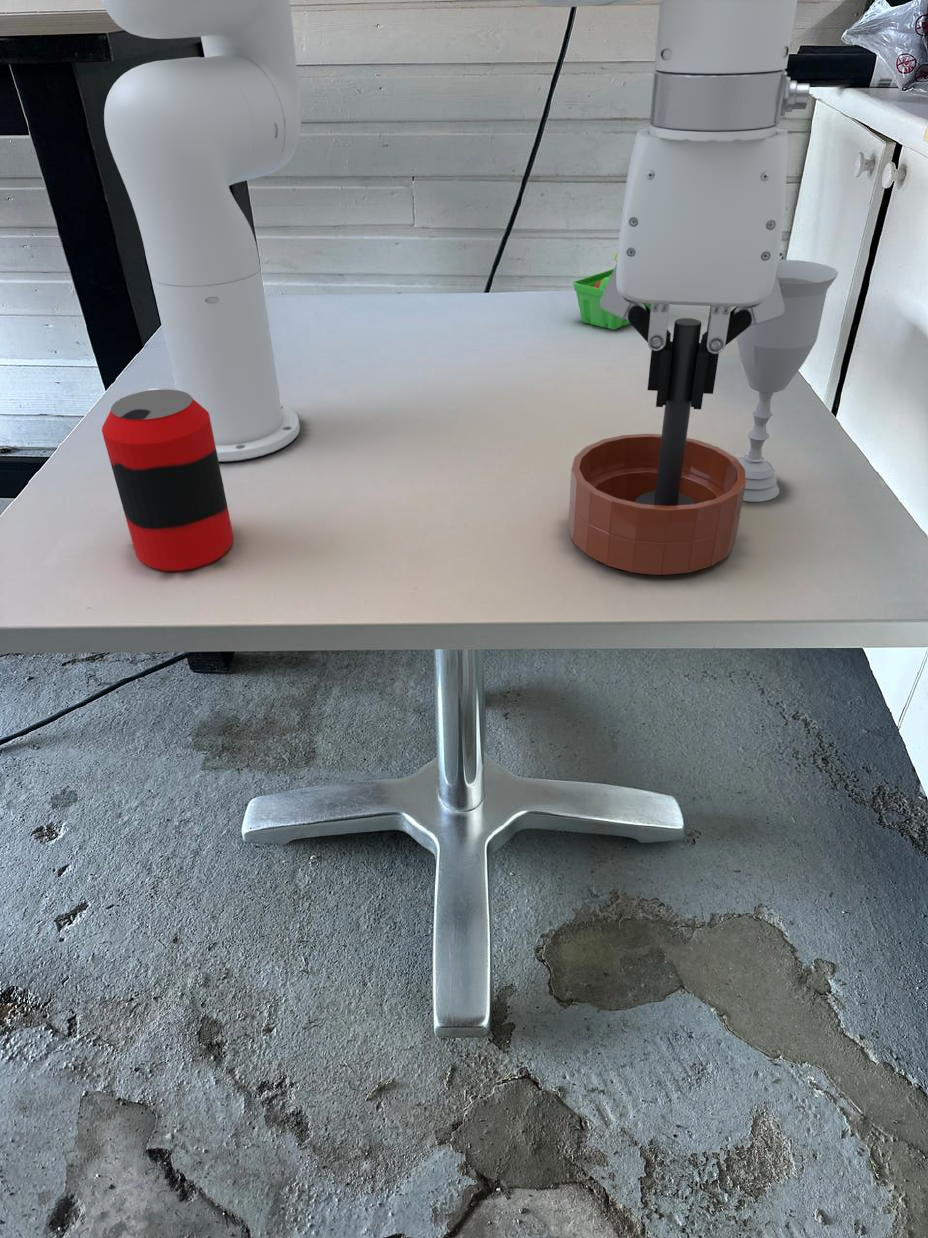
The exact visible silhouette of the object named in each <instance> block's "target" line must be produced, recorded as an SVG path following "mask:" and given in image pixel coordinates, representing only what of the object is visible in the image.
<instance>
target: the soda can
mask: <svg viewBox="0 0 928 1238" xmlns="http://www.w3.org/2000/svg"><path fill="white" fill-rule="evenodd" d="M160 389H161V390H149V391H148V390H145V391H139V392H135V393H132V394H129V395H127V396H124V397H121V398H120V399H118V400H116V401H115V402H114V403H112V405H111V407H110V411H109V413H108V415H107V417H106V418H105V421H104V422H103V424H102V427H101V435H102V437H103V441H104V445H105V448H106V451H107V455H108V459H109V462H110V466H111V469H112V473H113V477H114V480H115V485H116V488H117V492H118V495H119V498H120V502H121V506H122V509H123V513H124V518H125V521H126V525H127V528H128V531H129V535H130V538H131V543H132V545H133V550H134V553H135V555H136V558H137V559H138V560H139V561H140V562H141V563H143V564H144V565H146V566H148V567H149V568H152V569H155V570H159V571H163V572H183V571H189V570H195V569H199V568H201V567H204V566H207V565H209V564H212V563H214V562H215V561H217V560H218V559H220V558H222V557H223V556H224V555H225V554H226V553H227V552H228V550H229V549H230V547H231V546H232V544H233V541H234V533H233V528H232V527H233V526H232V522H231V517H230V512H229V507H228V502H227V497H226V492H225V488H224V481H223V477H222V472H221V467H220V461H218V456H217V451H216V446H215V441H214V436H213V431H212V426H211V421H210V416H209V413H208V412H207V410H206V409H204V408H203V407H202V406H201V405H200V404H199V403H197V402H196V401H195V400H194V399H193V398H192V397H191V395H189V394H188V393H186V392H183V391H179V390H176V389H168V388H160Z"/></svg>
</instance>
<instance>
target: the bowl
mask: <svg viewBox="0 0 928 1238" xmlns="http://www.w3.org/2000/svg"><path fill="white" fill-rule="evenodd" d="M661 437H662V433H636V434H622V435H621V434H620V435H618V436H617V435H616V436H612V437H607V438H604V439H601V440H598V441H596V442H594V443H592V444H589V445H586V446H585V447H583V448H582V449H581V450H580V452H579V453H577V454H576V455H575V456H574V457H573V461H572V465H571V470H570V471H571V472H570V487H569V488H570V490H569V506H568V507H569V508H568V509H569V510H568V526H567V527H568V528H567V530H568V533H569V535H570V538H571V541H572V543H573V544H574V545H575V546H576V547H577V548H579V549H580V550H581V551H582V552H583V553H584V554H585V555H587V556H588V557H590V558H592V559H594V560H595V561H598V562H599V563H601V564H604V565H606V566H608V567H612V568H615V569H618V570H622V571H625V572H630V573H634V574H641V575H649V576H650V575H654V576H669V575H678V574H687V573H693V572H695V571H700V570H703V569H707V568H710V567H713V566H714V565H716V564H717V563H719V562H721V561H722V560H724V559H726V558H727V557H728V556H729V554H730V552H732V549H733V548H734V546H735V544H736V539H737V534H738V529H739V525H740V524H739V523H740V518H741V513H742V506H743V496H744V490H745V485H746V475H745V469H744V467H743V466H742V465H741V464H740V462H739V461H738V460H737V459H738V458H737V457H735V456H734V455H732V454H730V453H729V452H727V451H725V450H724V449H722V448H721V447H718V446H716V445H713V444H710V443H708V442H705V441H701V440H699V439H696V438H695V439H694V438H690V437H687V438H686V446H685V453H684V461H683V469H682V476H681V484H680V491H679V493H681V494H683V495H686V496H688V497H690V498H691V499H693V500H694V501H695V503H696V504H690V505H675V506H660V505H648V504H639V503H635V500H636V498H637V497H638V496H640V495H642V494H644V493H647V492H651V491H655V489H656V481H657V472H658V463H659V454H660V446H661Z"/></svg>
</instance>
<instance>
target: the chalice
mask: <svg viewBox="0 0 928 1238" xmlns="http://www.w3.org/2000/svg"><path fill="white" fill-rule="evenodd" d="M777 275H778V280H779V284H780V288H781V293H782V297H783V301H784V306H785V311H784V314H783V315H782V316H780V317H778V318H775V319H772V320H769V321H766V322H763V323H760V324H757V325H756V324H755V325H752V326H749V327H748V328H747V329H746V330H745V331H743V332H742V333H741V334H740V335H738V336H737V337H736V342H737V346H738V353H739V358H740V361H741V365H742V368H743V370H744V373H745V376H746V379H747V382H748V385H749V387H750V388H751V389H752V390H754V391H756V392H758V402H757V405H756V407H755V409H754V410H753V411H752V412H751V415H752V416H753V420H754V424H753V425H754V426H753V427H752V430H751V431H750V432H748V433H747V435H746V436H747V437H748V438H749V441H750V443H749V444H750V448H749V451H748V453H747V454H745V455H744V456H742V457H738V458H736V459H737V460H738V461H739V462H740V464H741V465H742V466H743V467H744V469H745V475H746V485H745V490H744V496H743V501H744V502H750V503H751V502H752V503H753V502H755V503H756V502H758V503H760V502H766V501H770V500H772V499H775V498H777V496H778V495H779V494H780V488H779V486H778V484H777V481H778V480H777V477H776V474H775V472H776V470H775V468H774V467H773V465H772V464H771V462H770V461H768V460H766V459H765V457H764V456H763V452H762V450H763V449H762V448H763V446H764V443H765V442H766V441H767V440H768V439H769V438H770V434H769V433H768V431H767V425H768V422H769V420H770V419H771V417H773V413H772V411H771V400H772V398H773V396H774V394H775V393H778V392H782V391H784V390H785V389H786V388H787V387H788V385H790V383H791V381H792V380H793V379H794V377H795V376H796V375H797V373H798V372H799V370H800V369H801V368H802V366H803V365H804V364H805V362H806V360H807V359H808V356H809V355H810V353H811V351H812V350H813V348H814V346H815V344H816V342H817V339H818V335H819V331H820V326H821V322H822V316H823V311H824V307H825V303H826V297H827V292H828V289H829V288H830V287H831V285H832V284H833V283H834V281H835V280H836V279H837V277H838V275H839V272H838V270H836V269H835V268H834V267H832V266H829V265H827V264H823V263H818V262H813V261H806V260H798V259H797V260H796V259H779V260H778V266H777Z"/></svg>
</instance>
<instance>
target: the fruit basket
mask: <svg viewBox="0 0 928 1238" xmlns="http://www.w3.org/2000/svg"><path fill="white" fill-rule="evenodd" d="M617 253H618V250H617V251H616V253H615V257H614V260H615V263H616V264H617ZM613 270H614V268H611V269H608V270H605V271H601V272H600V273H599V272H598V273H595V274H593V275H590V276H588V277H584V278H581V279H577V280H574V281H573V282H572V285H573V288H574V291H575V293H576V298H577V302H578V307H579V308H578V309H579V312H580V317H581V320H582V323H583V324H590V325H592V326H597V327H601V328H604V329H605V328H606V329H609V330H612V331H614V330H617V329H619V328H621V327H624V326H627V325H629V324H630V325H631V323H630V322H629V321H627V320H625V319H622V318H619V317H617V316H615V315H613V314H611V313H609V312H606V311H604V310H603V309H601V307H600V299H601V296H602V294H603V292H604V289H605V287H606V285H607V283H608V281H609V279H610V277H611V275H612V272H613ZM645 304H646V305H647V307H648V308H649V309H650V310H651V303H645Z"/></svg>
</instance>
